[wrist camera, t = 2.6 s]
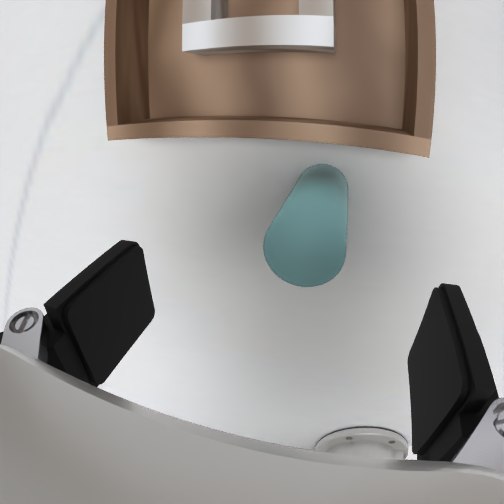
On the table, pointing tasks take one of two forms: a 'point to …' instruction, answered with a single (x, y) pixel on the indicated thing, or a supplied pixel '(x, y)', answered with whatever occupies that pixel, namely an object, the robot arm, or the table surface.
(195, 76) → the box
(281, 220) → the peg
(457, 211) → the table surface
